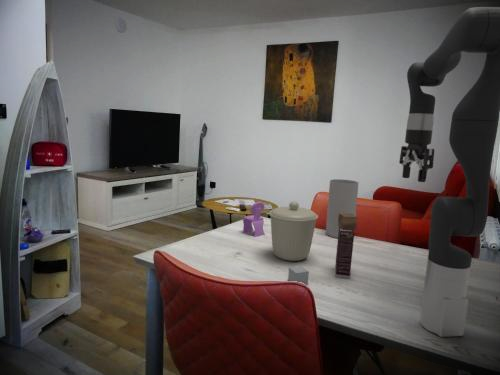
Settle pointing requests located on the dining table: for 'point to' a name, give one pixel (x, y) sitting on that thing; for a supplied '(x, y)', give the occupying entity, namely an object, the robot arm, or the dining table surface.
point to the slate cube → (298, 274)
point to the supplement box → (344, 253)
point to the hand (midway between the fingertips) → (413, 179)
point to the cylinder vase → (340, 203)
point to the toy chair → (254, 219)
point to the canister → (292, 231)
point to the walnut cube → (347, 221)
